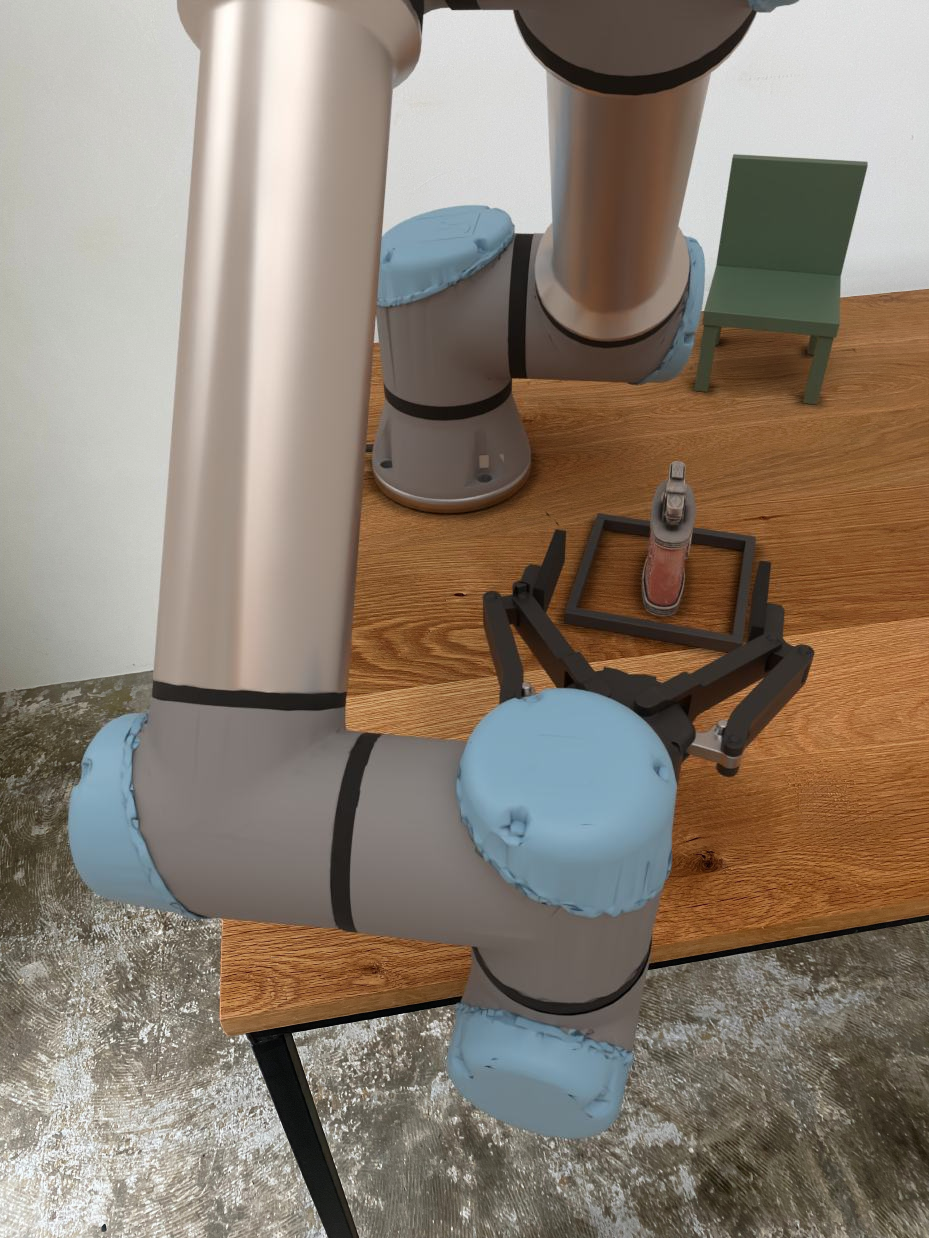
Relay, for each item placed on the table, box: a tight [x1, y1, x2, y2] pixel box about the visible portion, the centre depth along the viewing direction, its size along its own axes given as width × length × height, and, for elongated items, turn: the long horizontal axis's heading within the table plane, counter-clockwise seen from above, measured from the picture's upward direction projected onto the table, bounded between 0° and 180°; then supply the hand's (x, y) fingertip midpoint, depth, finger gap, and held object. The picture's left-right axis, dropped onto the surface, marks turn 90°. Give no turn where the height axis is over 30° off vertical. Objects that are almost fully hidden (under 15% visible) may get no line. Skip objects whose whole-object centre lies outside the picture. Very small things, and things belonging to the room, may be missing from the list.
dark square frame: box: [563, 512, 757, 654], centre depth 77 cm, size 14×14×1 cm
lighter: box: [641, 460, 697, 617], centre depth 74 cm, size 8×3×10 cm, turn 168°
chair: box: [694, 153, 869, 406], centre depth 96 cm, size 13×13×20 cm
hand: (658, 560), depth 63 cm, fingers open, 13 cm apart
